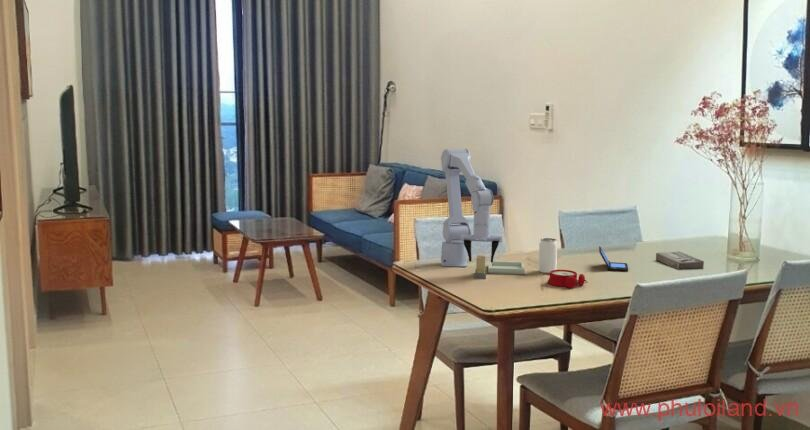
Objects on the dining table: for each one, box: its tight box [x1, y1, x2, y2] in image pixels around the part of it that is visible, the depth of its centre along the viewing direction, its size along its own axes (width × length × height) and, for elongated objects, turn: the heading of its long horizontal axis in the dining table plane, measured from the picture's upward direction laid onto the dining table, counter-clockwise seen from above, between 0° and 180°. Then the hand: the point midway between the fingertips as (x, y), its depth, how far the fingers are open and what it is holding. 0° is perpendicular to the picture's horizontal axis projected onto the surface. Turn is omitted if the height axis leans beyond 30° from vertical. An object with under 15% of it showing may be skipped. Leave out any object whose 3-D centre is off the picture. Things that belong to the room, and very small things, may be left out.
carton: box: [475, 254, 487, 274], centre depth 279 cm, size 3×5×7 cm, turn 172°
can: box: [538, 237, 558, 274], centre depth 286 cm, size 6×6×12 cm
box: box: [655, 251, 705, 270], centre depth 301 cm, size 11×17×3 cm, turn 12°
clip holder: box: [473, 268, 488, 280], centre depth 279 cm, size 4×9×2 cm, turn 172°
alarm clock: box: [542, 269, 588, 289], centre depth 267 cm, size 10×6×15 cm
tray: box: [487, 260, 525, 276], centre depth 288 cm, size 13×13×2 cm
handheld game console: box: [598, 245, 629, 273], centre depth 293 cm, size 12×11×7 cm
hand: (481, 261), depth 278 cm, fingers open, 7 cm apart
